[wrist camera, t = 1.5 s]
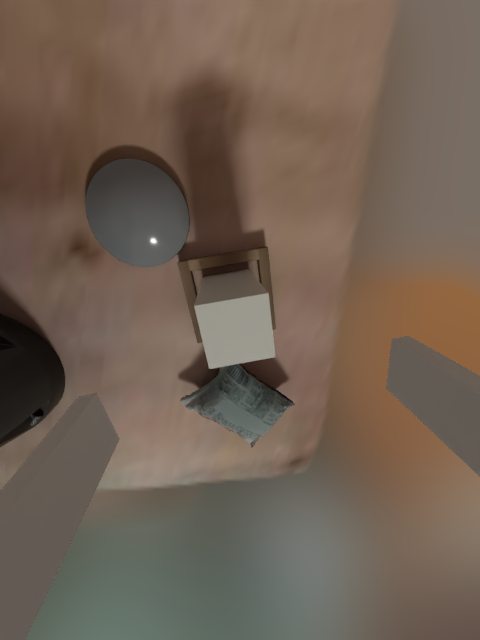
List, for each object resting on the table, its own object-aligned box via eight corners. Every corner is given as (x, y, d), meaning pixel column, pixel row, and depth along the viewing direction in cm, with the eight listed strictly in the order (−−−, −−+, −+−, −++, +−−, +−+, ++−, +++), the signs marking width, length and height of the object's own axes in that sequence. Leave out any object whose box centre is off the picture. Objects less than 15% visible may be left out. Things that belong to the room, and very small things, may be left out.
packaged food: (248, 430, 33) (253, 462, 29) (181, 390, 29) (175, 419, 25) (290, 391, 31) (303, 418, 27) (225, 343, 28) (227, 365, 23)
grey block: (212, 319, 26) (209, 369, 17) (202, 276, 24) (194, 306, 15) (254, 312, 26) (275, 357, 17) (248, 268, 24) (268, 293, 15)
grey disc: (111, 272, 23) (107, 273, 22) (73, 169, 20) (67, 167, 19) (198, 257, 23) (198, 258, 23) (176, 153, 20) (174, 150, 19)
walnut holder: (198, 338, 27) (197, 343, 26) (179, 260, 23) (177, 262, 22) (273, 324, 27) (275, 329, 26) (265, 246, 24) (267, 247, 23)
